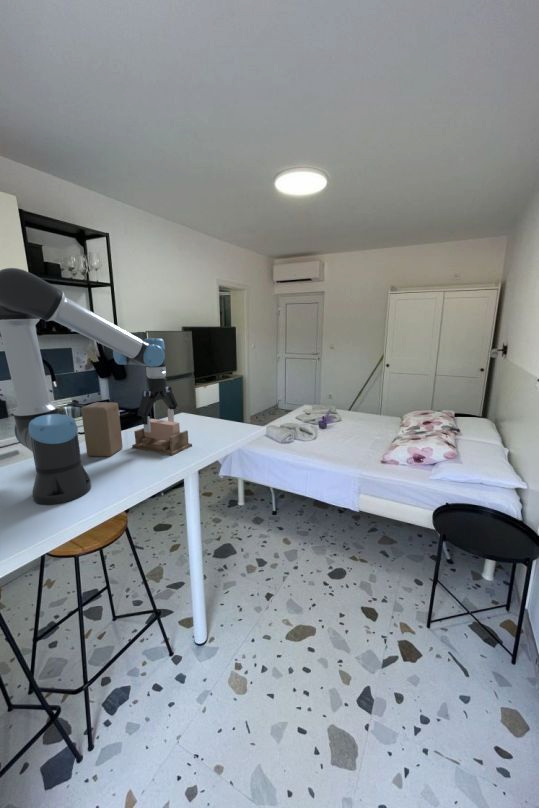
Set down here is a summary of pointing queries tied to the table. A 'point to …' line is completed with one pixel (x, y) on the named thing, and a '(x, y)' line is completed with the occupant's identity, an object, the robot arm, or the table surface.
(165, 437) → the pinkish tan block
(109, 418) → the wooden block
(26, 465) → the table surface
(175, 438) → the rack
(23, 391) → the robot arm
